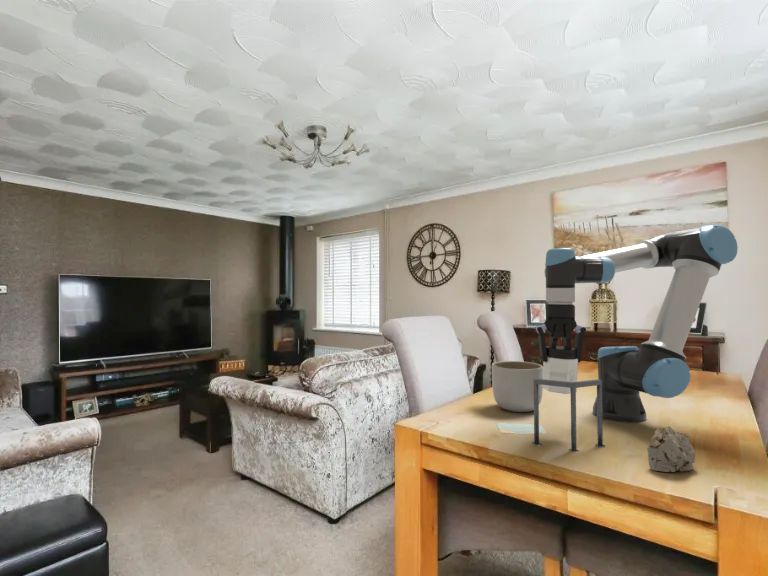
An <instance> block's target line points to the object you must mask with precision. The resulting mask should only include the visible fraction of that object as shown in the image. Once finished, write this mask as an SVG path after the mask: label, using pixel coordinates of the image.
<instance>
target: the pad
mask: <svg viewBox="0 0 768 576" xmlns="http://www.w3.org/2000/svg"><path fill="white" fill-rule="evenodd" d="M495 425H496V427H497V428H498V430H499V429H501V430H503V429H504V430H507V429H508V431H509V430H510V431H512V432H515V434H514V435H521V434H522V435H523V434H525V435H528V434H534V423H533V424H531V423H523V424H522V423H495ZM510 431H509V432H510ZM518 433H519V434H518ZM539 434H548V433H547V431H546V430H545V429H544V427H542V425H541V424H540V423H539Z"/></svg>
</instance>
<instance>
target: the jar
mask: <svg viewBox="0 0 768 576" xmlns="http://www.w3.org/2000/svg"><path fill="white" fill-rule="evenodd" d="M546 351H547V362H544V361H542V362H543V363H542V366H543V379H546V380H555V381H565V382H578V365H579V363H578V359H576V356H577V350H576V349H575V348H574V347H572V349H567V348H565V347H564V345H563V346H561V345H557V346H556V348H551V347H549V345H546ZM542 387H543V389H544V390H546V391H548V392H549V393H550V392H551V393H557V394H562V395H571V389H570V388H568V387H559V386H549V385H542ZM577 390H578V388H576V393H577V392H578V391H577Z"/></svg>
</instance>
